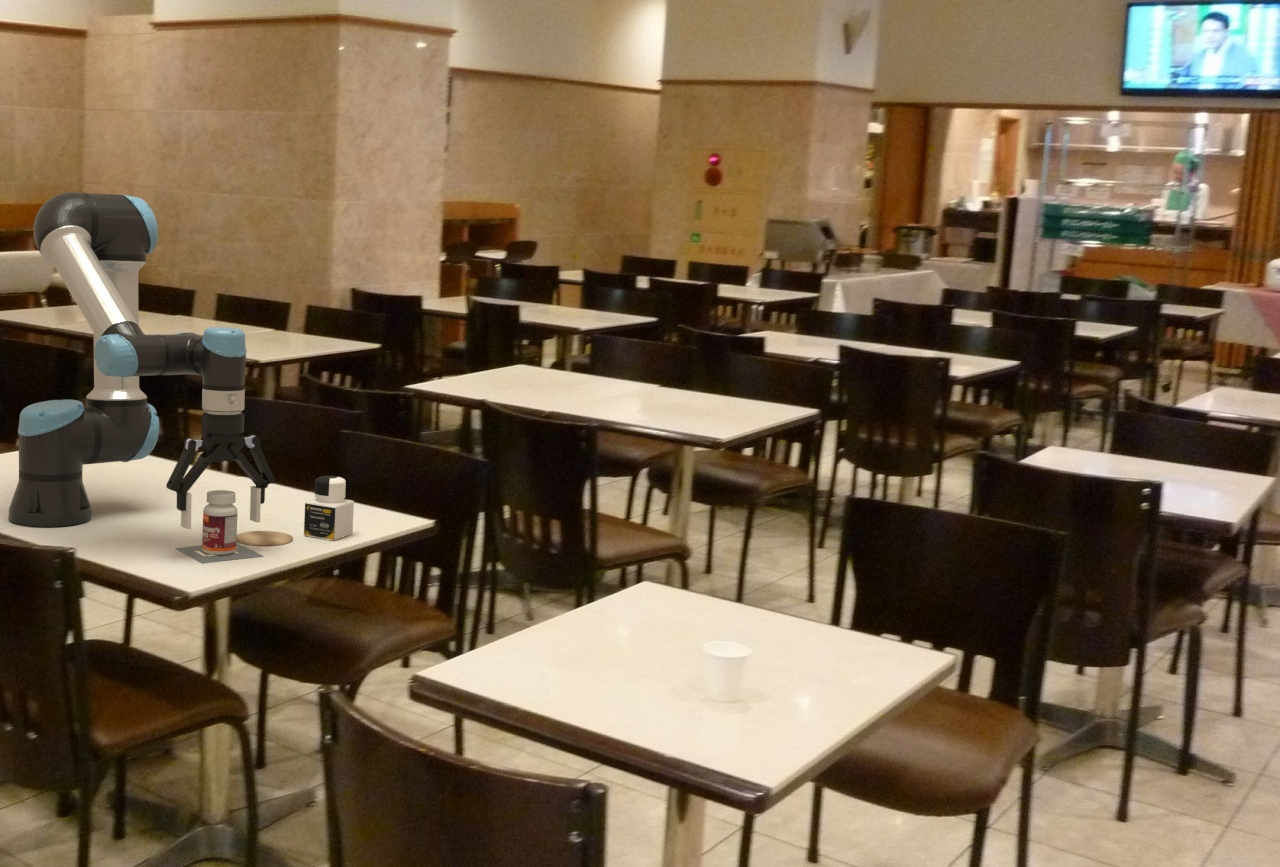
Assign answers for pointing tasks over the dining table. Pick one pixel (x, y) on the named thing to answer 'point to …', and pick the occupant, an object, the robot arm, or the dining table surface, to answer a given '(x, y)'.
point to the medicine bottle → (329, 510)
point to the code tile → (203, 557)
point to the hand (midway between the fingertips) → (221, 524)
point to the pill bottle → (219, 523)
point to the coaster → (264, 538)
